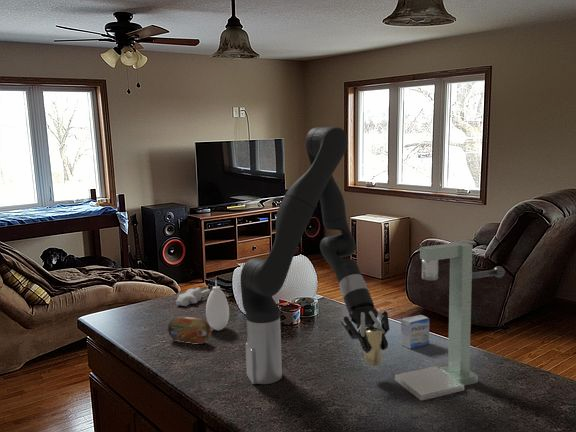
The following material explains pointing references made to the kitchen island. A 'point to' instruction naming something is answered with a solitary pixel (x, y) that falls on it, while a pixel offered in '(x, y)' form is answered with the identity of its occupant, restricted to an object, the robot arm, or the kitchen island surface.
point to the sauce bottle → (217, 309)
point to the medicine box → (415, 331)
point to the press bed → (458, 369)
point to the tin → (189, 329)
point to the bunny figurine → (191, 296)
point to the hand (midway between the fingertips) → (376, 349)
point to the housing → (373, 346)
